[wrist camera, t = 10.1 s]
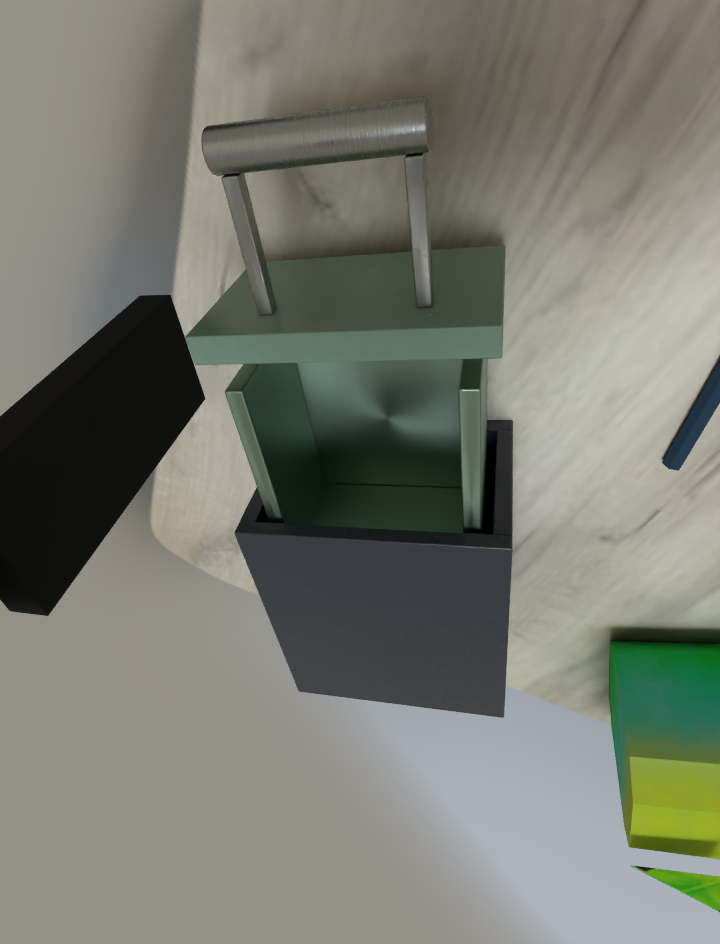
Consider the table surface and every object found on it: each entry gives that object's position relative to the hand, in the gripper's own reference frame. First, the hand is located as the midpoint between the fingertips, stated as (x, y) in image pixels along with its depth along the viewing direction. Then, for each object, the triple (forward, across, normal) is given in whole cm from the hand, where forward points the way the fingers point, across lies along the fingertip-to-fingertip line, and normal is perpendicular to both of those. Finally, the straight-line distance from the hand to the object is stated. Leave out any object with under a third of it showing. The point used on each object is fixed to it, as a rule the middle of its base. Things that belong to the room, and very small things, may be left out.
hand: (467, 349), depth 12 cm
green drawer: (+14, -5, -6) cm, 16 cm away
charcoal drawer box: (+15, -4, -20) cm, 25 cm away
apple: (+15, +15, -34) cm, 40 cm away
